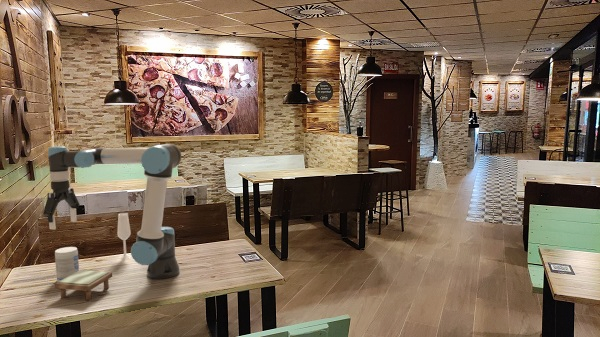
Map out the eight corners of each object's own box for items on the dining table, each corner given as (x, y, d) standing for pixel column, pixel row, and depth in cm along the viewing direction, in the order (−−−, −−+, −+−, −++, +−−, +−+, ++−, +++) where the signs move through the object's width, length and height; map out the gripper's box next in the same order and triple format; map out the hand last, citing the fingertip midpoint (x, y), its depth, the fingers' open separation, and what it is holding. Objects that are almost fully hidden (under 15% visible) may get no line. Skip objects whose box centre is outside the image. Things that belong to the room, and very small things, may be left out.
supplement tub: (80, 281, 204) (78, 250, 202) (57, 285, 198) (55, 254, 196) (78, 274, 212) (76, 245, 210) (56, 278, 206) (53, 248, 204)
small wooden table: (113, 287, 196) (112, 271, 195) (89, 302, 181) (88, 285, 180) (81, 284, 199) (80, 269, 198) (56, 299, 184) (54, 282, 183)
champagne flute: (132, 254, 241) (130, 212, 238) (131, 258, 235) (129, 215, 231) (119, 255, 239) (116, 213, 236) (118, 259, 232) (115, 216, 229)
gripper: (71, 176, 212) (75, 218, 215) (31, 184, 188) (35, 232, 191) (85, 176, 211) (88, 219, 213) (46, 184, 186) (50, 232, 189)
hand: (63, 225), depth 202 cm, fingers open, 13 cm apart
